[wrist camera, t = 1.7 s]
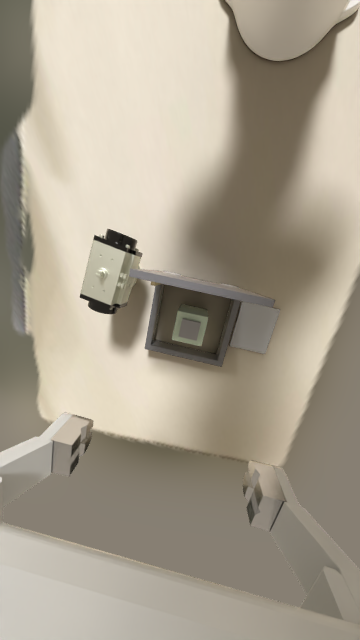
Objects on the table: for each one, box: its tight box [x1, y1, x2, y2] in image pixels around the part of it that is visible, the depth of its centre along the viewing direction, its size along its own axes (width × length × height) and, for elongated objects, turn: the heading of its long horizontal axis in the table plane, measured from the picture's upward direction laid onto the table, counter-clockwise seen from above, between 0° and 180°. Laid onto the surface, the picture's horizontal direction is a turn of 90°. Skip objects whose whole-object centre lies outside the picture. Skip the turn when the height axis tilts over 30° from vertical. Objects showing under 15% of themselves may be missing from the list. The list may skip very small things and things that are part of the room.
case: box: [129, 269, 275, 367], centre depth 30 cm, size 15×15×17 cm
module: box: [172, 304, 209, 346], centre depth 34 cm, size 5×5×8 cm
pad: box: [230, 301, 280, 354], centre depth 37 cm, size 9×7×1 cm
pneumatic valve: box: [80, 229, 142, 314], centre depth 31 cm, size 6×12×12 cm, turn 159°
